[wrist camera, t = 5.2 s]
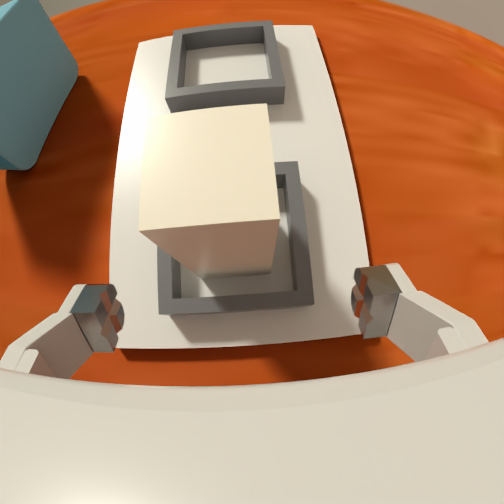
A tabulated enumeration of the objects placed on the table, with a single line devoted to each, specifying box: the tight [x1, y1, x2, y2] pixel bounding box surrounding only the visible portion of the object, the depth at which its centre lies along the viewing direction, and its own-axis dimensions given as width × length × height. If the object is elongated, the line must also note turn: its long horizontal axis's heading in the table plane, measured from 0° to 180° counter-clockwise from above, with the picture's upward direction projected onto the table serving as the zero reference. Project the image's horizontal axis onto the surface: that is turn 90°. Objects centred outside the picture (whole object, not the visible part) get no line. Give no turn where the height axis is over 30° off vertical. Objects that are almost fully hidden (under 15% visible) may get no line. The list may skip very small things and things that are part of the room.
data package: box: [0, 0, 78, 170], centre depth 17 cm, size 12×4×12 cm, turn 170°
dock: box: [110, 21, 369, 349], centre depth 20 cm, size 16×26×3 cm, turn 4°
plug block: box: [138, 103, 280, 279], centre depth 14 cm, size 4×4×10 cm
